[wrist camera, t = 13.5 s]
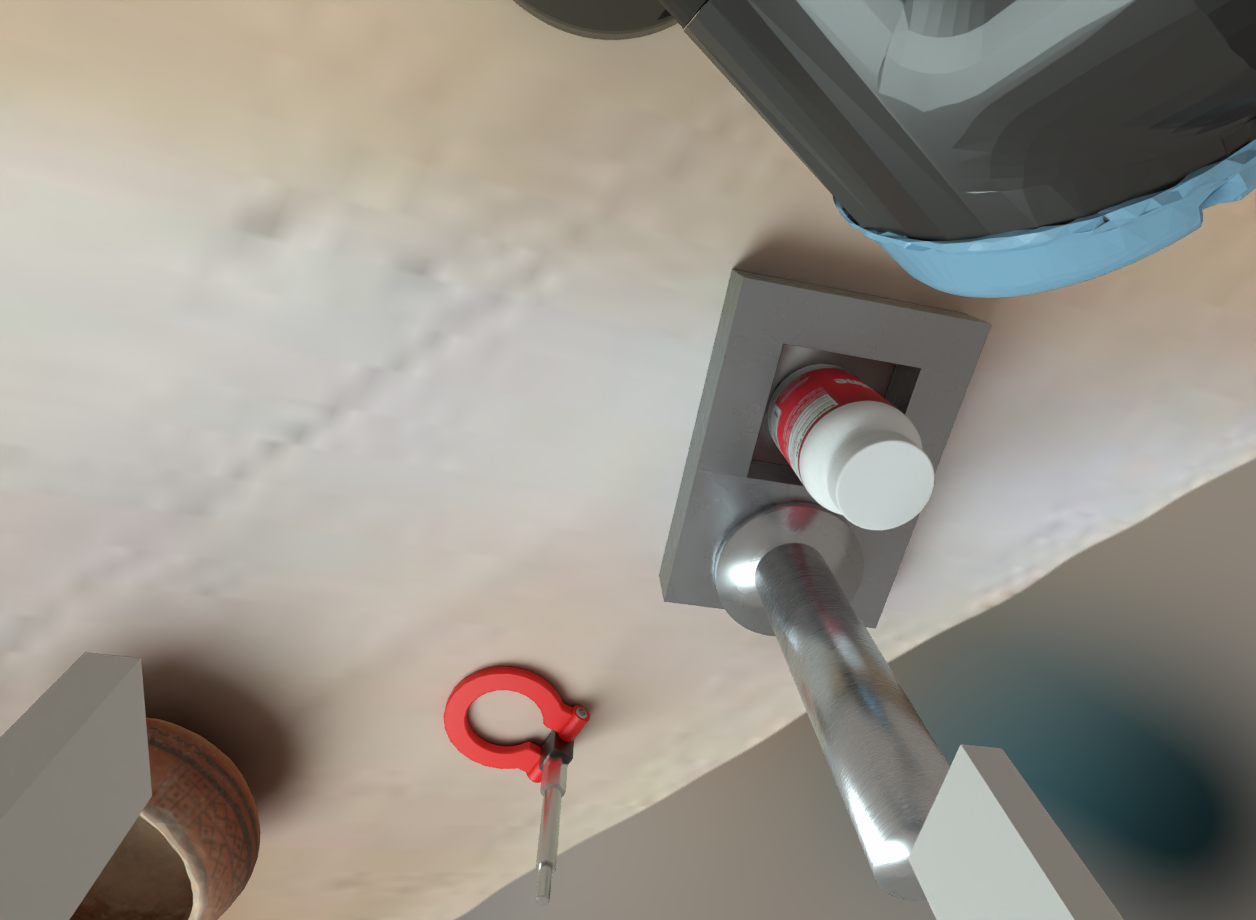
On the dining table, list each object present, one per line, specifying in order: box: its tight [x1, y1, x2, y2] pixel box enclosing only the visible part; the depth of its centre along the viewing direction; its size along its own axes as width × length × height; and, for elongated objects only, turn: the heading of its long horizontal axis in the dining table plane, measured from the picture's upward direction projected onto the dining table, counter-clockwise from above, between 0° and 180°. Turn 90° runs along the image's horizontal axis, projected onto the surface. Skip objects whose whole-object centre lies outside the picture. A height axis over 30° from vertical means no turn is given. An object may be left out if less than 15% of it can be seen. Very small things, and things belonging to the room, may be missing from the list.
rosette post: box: [659, 269, 991, 901], centre depth 34 cm, size 21×14×23 cm, turn 169°
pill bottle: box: [767, 364, 935, 530], centre depth 39 cm, size 6×6×11 cm
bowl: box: [70, 718, 260, 920], centre depth 47 cm, size 16×16×10 cm
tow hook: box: [444, 667, 590, 906], centre depth 46 cm, size 8×13×9 cm
